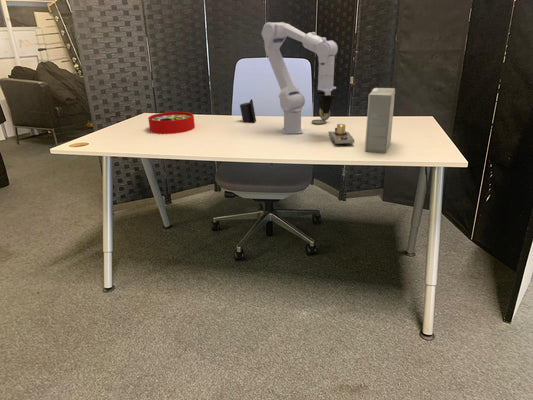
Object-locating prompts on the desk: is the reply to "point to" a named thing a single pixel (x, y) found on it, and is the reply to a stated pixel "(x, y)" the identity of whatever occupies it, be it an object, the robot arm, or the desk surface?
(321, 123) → the pocket watch
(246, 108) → the speaker
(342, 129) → the brass pin
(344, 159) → the desk surface
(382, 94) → the hard drive box
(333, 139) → the square cutout plate
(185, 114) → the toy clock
